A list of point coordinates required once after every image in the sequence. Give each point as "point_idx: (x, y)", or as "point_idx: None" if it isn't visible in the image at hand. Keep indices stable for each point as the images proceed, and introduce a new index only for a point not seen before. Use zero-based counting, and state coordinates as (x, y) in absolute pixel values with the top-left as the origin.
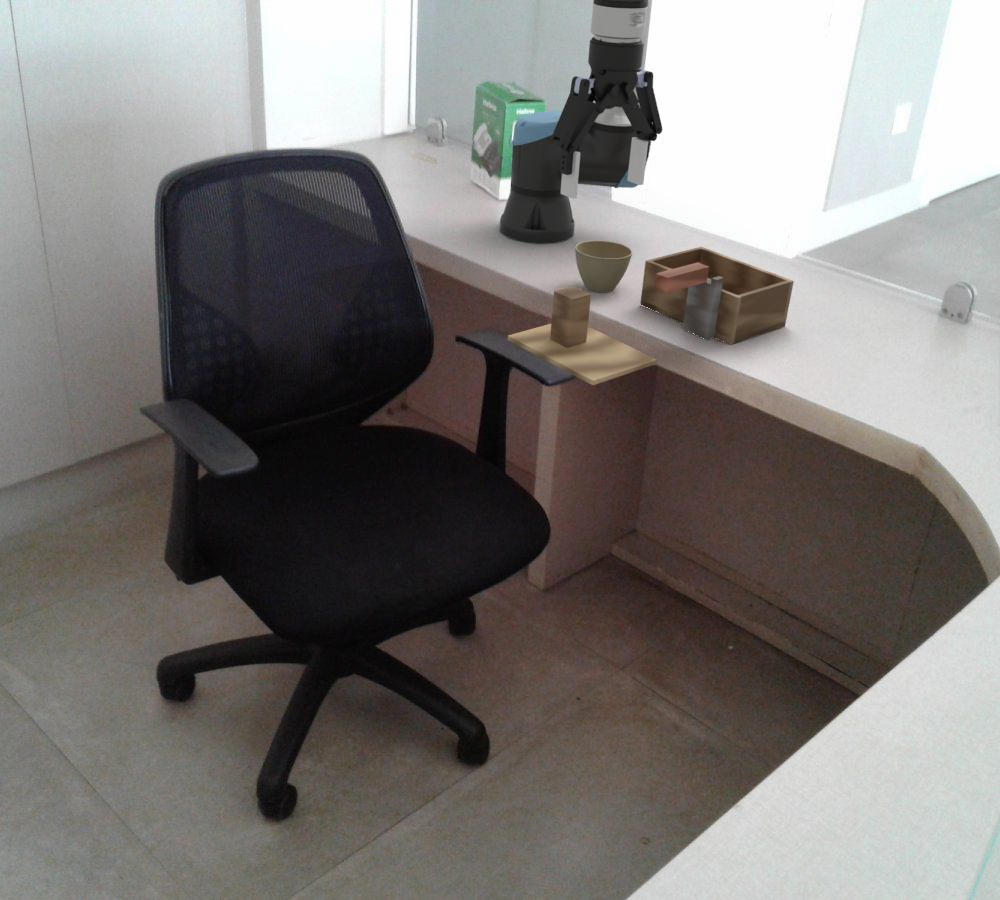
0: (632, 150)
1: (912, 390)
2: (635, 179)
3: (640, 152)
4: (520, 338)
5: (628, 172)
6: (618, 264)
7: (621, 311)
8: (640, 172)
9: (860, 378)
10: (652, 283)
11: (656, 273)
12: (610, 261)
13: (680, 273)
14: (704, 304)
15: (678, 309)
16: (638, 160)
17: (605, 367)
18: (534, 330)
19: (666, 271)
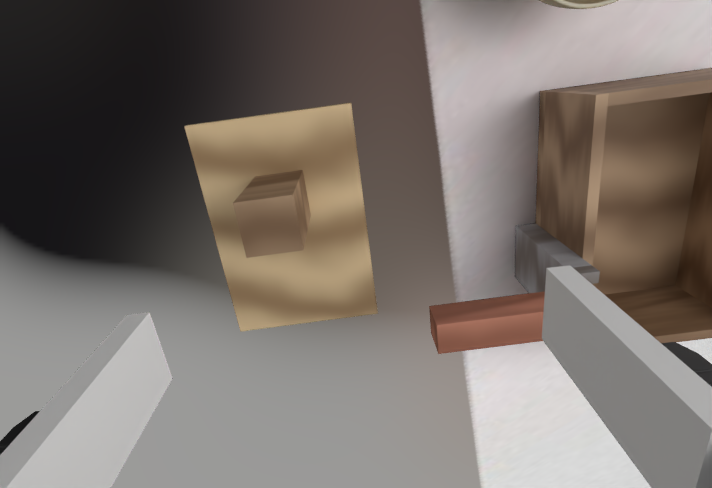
0: (640, 378)
1: (610, 480)
2: (551, 324)
3: (634, 436)
4: (202, 149)
5: (566, 288)
6: (569, 8)
7: (481, 101)
8: (569, 371)
9: (590, 441)
10: (567, 124)
11: (437, 325)
12: (550, 1)
13: (486, 344)
14: (541, 290)
15: (547, 199)
16: (602, 393)
17: (284, 304)
18: (247, 126)
19: (467, 324)
